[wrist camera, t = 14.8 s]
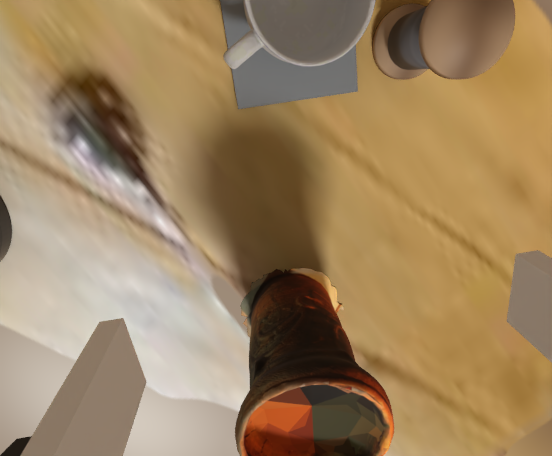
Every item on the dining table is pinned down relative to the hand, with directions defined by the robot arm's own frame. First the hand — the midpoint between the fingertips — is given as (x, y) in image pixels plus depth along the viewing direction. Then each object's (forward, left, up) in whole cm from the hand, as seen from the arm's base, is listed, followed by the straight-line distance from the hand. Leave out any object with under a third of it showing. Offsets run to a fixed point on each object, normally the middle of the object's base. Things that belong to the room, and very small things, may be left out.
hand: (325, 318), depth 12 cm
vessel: (0, -22, -32) cm, 39 cm away
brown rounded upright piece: (+16, +9, -32) cm, 37 cm away
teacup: (+3, +13, -31) cm, 34 cm away
